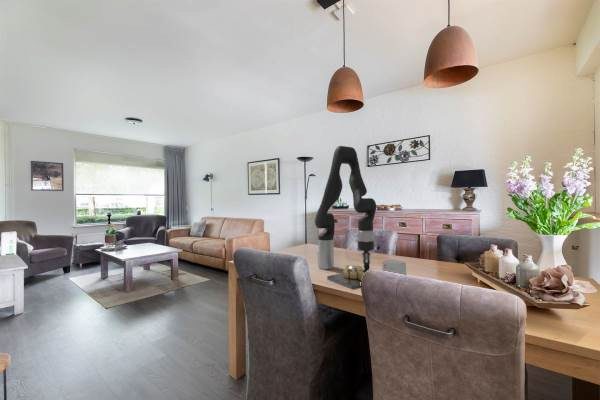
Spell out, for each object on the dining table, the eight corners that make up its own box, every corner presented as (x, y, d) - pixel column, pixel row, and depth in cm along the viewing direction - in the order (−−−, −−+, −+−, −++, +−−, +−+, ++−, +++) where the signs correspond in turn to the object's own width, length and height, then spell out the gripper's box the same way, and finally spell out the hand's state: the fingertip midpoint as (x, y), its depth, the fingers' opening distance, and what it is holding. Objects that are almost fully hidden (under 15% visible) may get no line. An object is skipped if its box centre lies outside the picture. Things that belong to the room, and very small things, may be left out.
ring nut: (339, 275, 136) (339, 266, 136) (354, 271, 141) (354, 263, 141) (365, 284, 120) (365, 274, 120) (380, 280, 126) (380, 271, 126)
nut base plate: (327, 279, 135) (327, 266, 135) (351, 273, 144) (351, 262, 144) (351, 288, 120) (350, 274, 120) (376, 282, 129) (376, 269, 129)
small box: (407, 291, 115) (406, 261, 115) (399, 295, 111) (398, 264, 111) (390, 287, 121) (389, 259, 121) (382, 290, 117) (382, 261, 117)
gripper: (358, 237, 133) (358, 271, 133) (357, 241, 120) (358, 279, 120) (373, 237, 131) (374, 272, 131) (374, 241, 118) (375, 280, 118)
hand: (366, 275), depth 125 cm, fingers closed
